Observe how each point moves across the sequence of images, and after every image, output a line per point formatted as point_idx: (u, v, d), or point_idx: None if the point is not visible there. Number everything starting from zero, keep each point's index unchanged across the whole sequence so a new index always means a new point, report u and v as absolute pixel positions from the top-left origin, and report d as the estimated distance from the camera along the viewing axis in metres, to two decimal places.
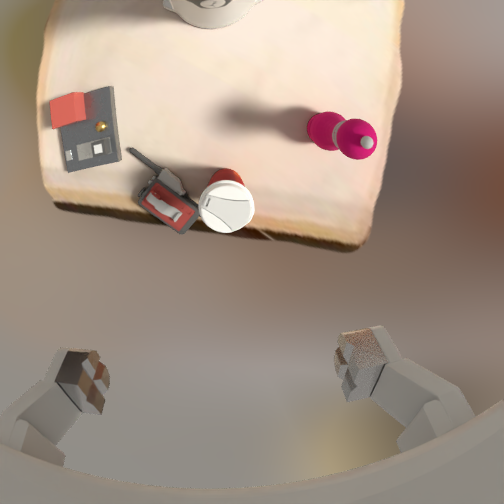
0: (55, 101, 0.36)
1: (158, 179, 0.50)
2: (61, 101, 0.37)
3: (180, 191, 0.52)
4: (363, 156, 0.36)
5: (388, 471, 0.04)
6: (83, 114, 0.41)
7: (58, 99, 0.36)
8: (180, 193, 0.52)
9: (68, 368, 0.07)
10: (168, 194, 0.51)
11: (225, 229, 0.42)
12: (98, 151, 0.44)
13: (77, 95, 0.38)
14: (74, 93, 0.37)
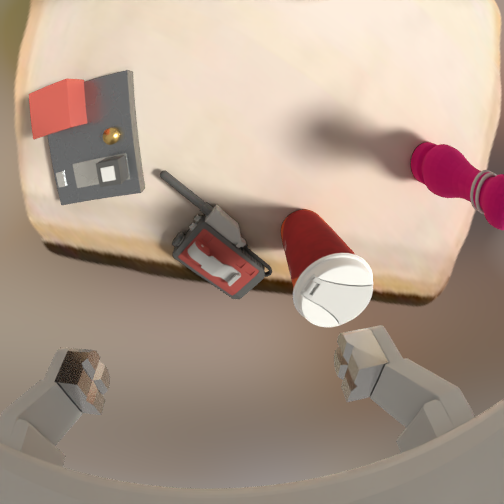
0: (37, 94, 0.20)
1: (206, 223, 0.35)
2: (47, 94, 0.21)
3: (239, 242, 0.36)
4: None
5: (389, 471, 0.04)
6: (83, 115, 0.26)
7: (42, 90, 0.20)
8: (239, 245, 0.37)
9: (68, 368, 0.07)
10: (221, 247, 0.36)
11: (330, 323, 0.27)
12: (108, 178, 0.28)
13: (73, 84, 0.22)
14: (68, 80, 0.21)
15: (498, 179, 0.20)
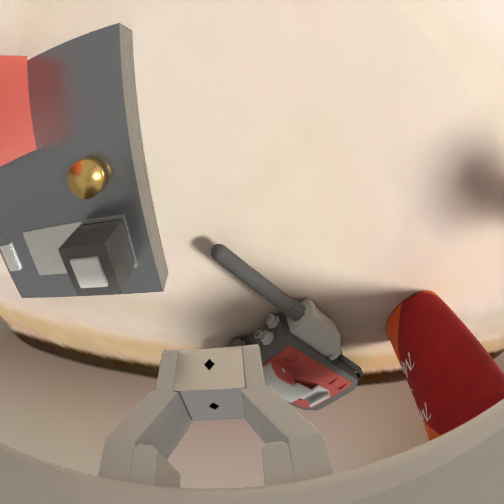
0: None
1: (293, 336, 0.19)
2: None
3: (336, 354, 0.21)
4: None
5: (389, 471, 0.04)
6: (24, 135, 0.10)
7: None
8: (334, 357, 0.21)
9: (188, 372, 0.07)
10: (311, 365, 0.20)
11: None
12: (92, 282, 0.12)
13: None
14: None
15: None
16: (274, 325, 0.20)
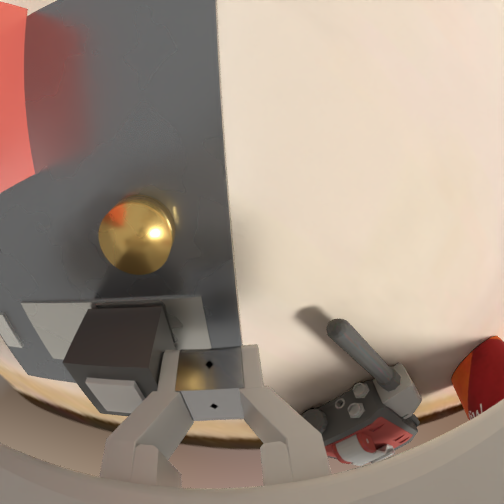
0: None
1: (385, 407, 0.14)
2: None
3: (411, 413, 0.16)
4: None
5: (389, 471, 0.04)
6: (11, 148, 0.05)
7: None
8: (408, 416, 0.16)
9: (189, 372, 0.07)
10: (389, 429, 0.15)
11: None
12: (126, 408, 0.07)
13: None
14: None
15: None
16: (363, 395, 0.15)
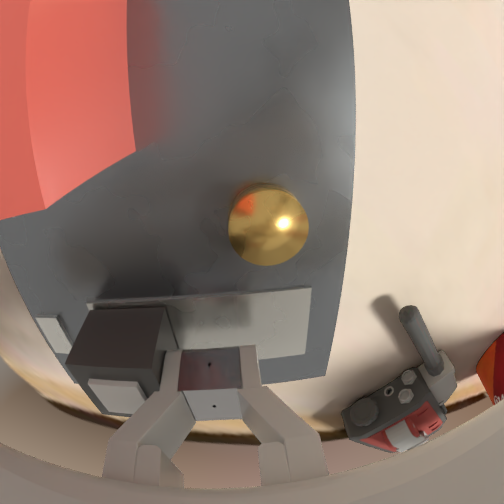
0: None
1: (431, 391, 0.14)
2: None
3: (446, 399, 0.16)
4: None
5: (388, 471, 0.04)
6: (118, 115, 0.05)
7: None
8: (443, 402, 0.16)
9: (191, 372, 0.07)
10: (429, 414, 0.15)
11: None
12: (128, 409, 0.07)
13: None
14: None
15: None
16: (411, 381, 0.15)
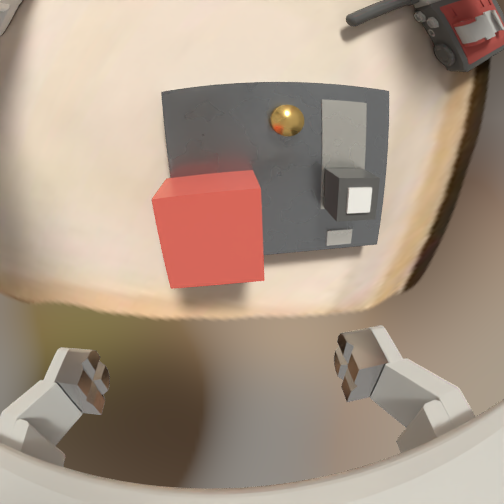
0: (174, 267, 0.16)
1: (432, 3, 0.11)
2: (177, 245, 0.15)
3: None
4: None
5: (388, 471, 0.04)
6: (237, 174, 0.17)
7: (169, 256, 0.16)
8: None
9: (68, 368, 0.07)
10: (461, 5, 0.11)
11: None
12: (366, 199, 0.16)
13: (169, 190, 0.16)
14: (157, 196, 0.14)
15: None
16: (423, 15, 0.13)
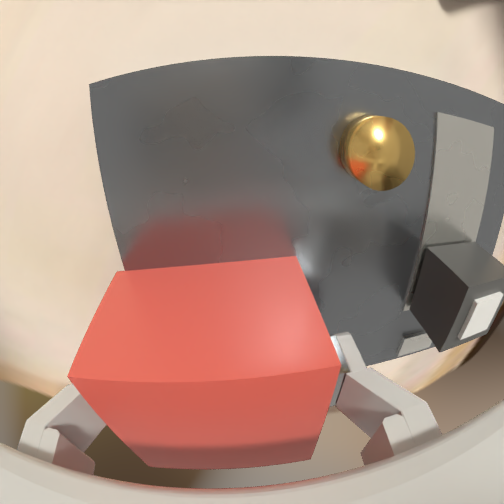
0: (149, 454, 0.07)
1: None
2: (146, 438, 0.06)
3: None
4: None
5: (388, 471, 0.04)
6: (266, 276, 0.08)
7: (135, 445, 0.06)
8: None
9: None
10: None
11: None
12: (490, 313, 0.07)
13: (113, 325, 0.06)
14: (81, 362, 0.05)
15: None
16: None
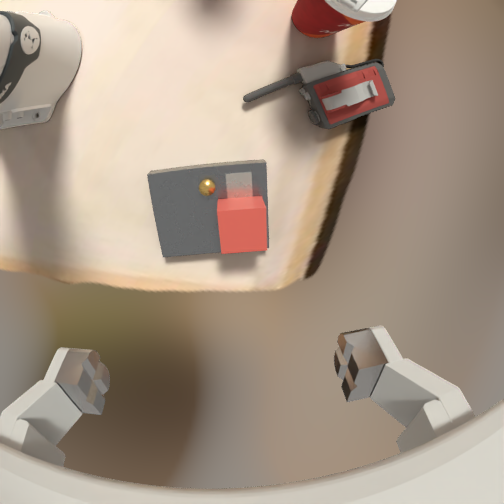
0: (224, 243, 0.34)
1: (310, 82, 0.30)
2: (227, 232, 0.34)
3: (340, 66, 0.29)
4: None
5: (388, 471, 0.04)
6: (254, 198, 0.35)
7: (222, 238, 0.34)
8: (343, 68, 0.29)
9: (68, 368, 0.07)
10: (337, 80, 0.29)
11: None
12: None
13: (222, 206, 0.34)
14: (219, 209, 0.33)
15: None
16: (303, 90, 0.31)
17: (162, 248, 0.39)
